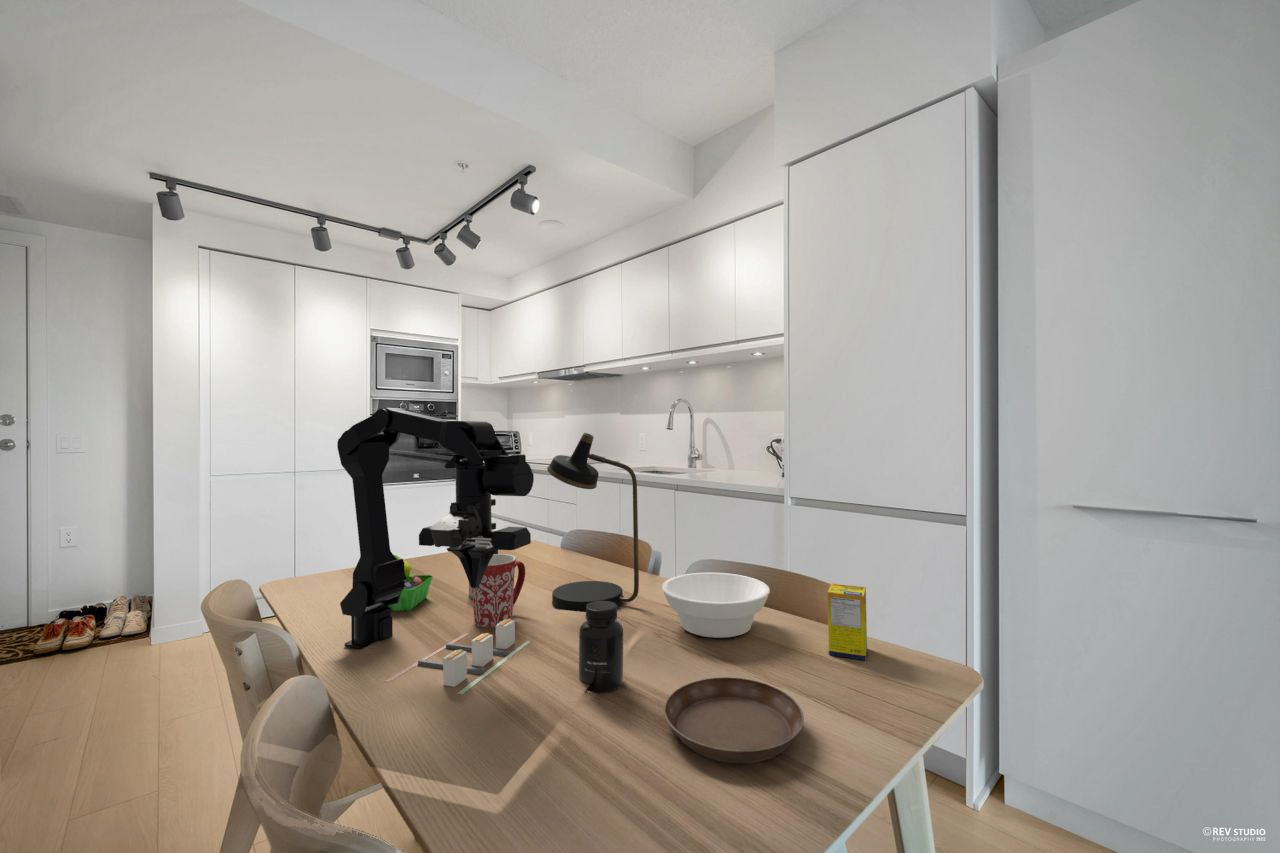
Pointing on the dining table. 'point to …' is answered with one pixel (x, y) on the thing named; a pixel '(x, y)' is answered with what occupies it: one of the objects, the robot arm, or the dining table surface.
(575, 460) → the lamp
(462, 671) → the block
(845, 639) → the supplement box
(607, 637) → the supplement bottle
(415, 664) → the panel
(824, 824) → the dining table surface
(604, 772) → the dining table surface
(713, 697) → the plant saucer
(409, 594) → the fruit basket
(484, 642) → the block
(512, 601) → the mug
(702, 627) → the bowl
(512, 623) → the block
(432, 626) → the dining table surface
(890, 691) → the dining table surface
